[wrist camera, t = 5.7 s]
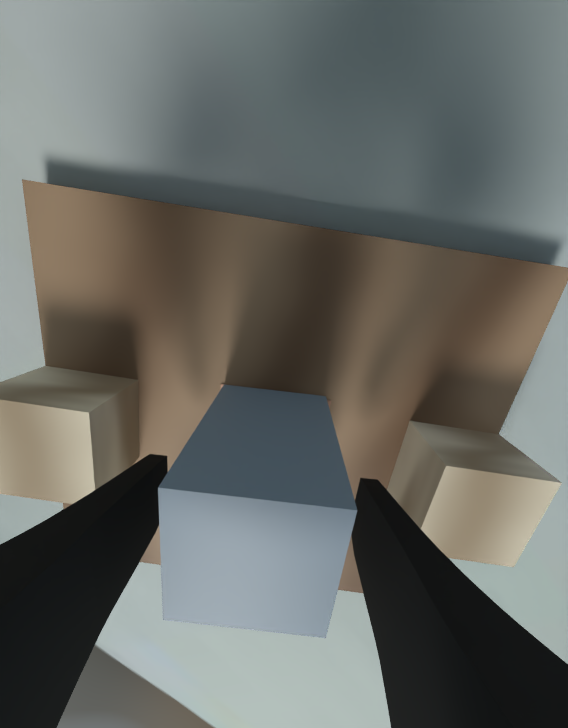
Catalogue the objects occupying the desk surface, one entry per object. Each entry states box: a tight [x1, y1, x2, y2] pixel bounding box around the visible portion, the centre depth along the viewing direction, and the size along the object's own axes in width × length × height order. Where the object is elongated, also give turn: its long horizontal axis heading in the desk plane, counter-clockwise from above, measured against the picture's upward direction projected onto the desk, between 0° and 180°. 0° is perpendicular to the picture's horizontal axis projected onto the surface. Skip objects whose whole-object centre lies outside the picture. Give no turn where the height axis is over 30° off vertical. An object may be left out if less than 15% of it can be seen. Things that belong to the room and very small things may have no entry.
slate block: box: [158, 385, 357, 638], centre depth 10 cm, size 4×4×6 cm
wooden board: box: [0, 180, 568, 593], centre depth 12 cm, size 20×18×4 cm
